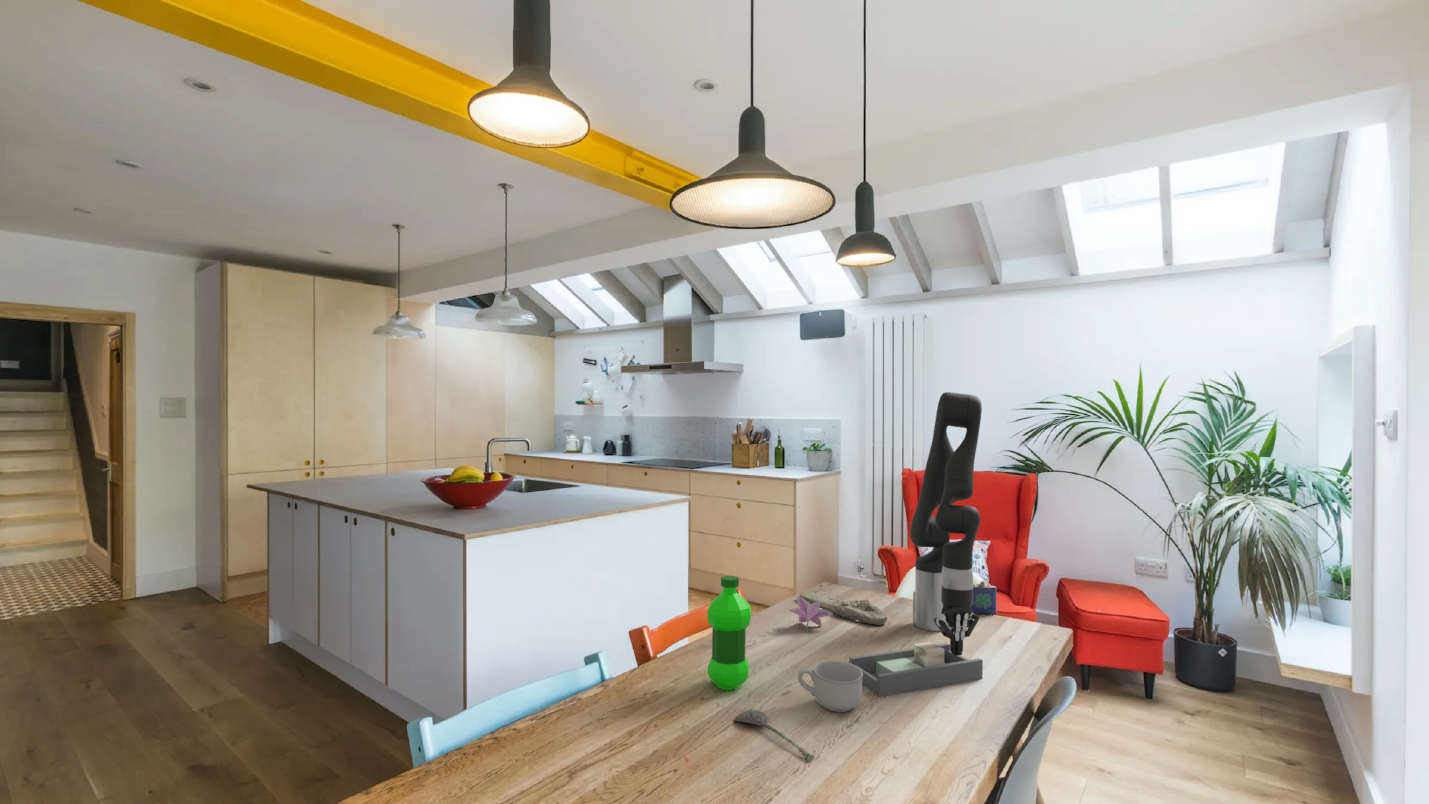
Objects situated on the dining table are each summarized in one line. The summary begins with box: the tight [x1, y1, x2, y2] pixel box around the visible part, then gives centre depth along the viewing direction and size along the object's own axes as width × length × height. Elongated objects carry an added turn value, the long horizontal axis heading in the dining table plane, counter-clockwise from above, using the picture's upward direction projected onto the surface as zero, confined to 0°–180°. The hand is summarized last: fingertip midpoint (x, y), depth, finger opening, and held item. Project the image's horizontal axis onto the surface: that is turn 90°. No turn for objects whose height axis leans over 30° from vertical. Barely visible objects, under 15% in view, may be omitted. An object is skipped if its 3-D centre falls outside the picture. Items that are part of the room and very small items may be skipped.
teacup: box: [797, 659, 863, 713], centre depth 144 cm, size 14×11×8 cm
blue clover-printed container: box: [971, 580, 998, 616], centre depth 213 cm, size 9×3×11 cm, turn 88°
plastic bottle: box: [706, 575, 752, 691], centre depth 153 cm, size 10×10×25 cm
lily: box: [788, 595, 834, 633], centre depth 195 cm, size 12×12×10 cm
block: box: [913, 641, 944, 667], centre depth 161 cm, size 5×5×4 cm
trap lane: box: [848, 643, 984, 697], centre depth 160 cm, size 12×30×4 cm, turn 112°
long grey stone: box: [798, 591, 888, 626], centre depth 213 cm, size 35×5×10 cm
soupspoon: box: [733, 709, 815, 763], centre depth 129 cm, size 22×3×7 cm
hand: (956, 654), depth 165 cm, fingers closed
